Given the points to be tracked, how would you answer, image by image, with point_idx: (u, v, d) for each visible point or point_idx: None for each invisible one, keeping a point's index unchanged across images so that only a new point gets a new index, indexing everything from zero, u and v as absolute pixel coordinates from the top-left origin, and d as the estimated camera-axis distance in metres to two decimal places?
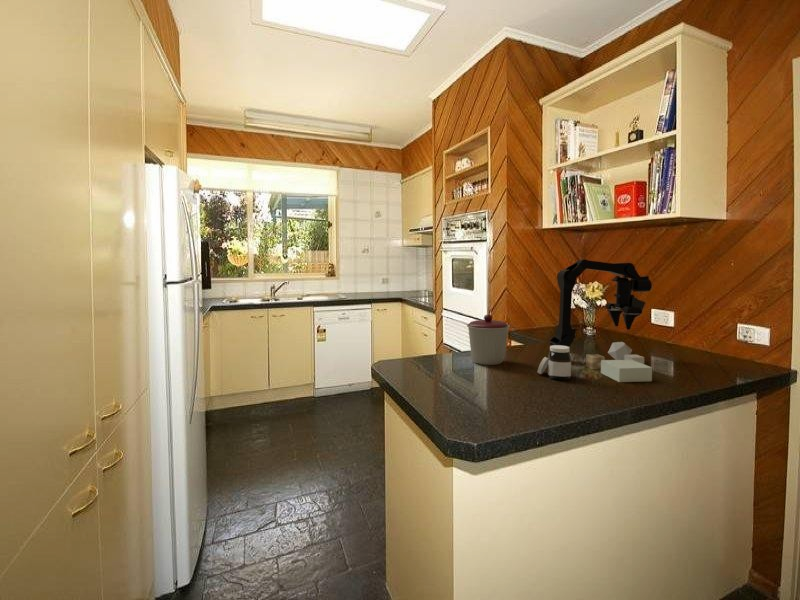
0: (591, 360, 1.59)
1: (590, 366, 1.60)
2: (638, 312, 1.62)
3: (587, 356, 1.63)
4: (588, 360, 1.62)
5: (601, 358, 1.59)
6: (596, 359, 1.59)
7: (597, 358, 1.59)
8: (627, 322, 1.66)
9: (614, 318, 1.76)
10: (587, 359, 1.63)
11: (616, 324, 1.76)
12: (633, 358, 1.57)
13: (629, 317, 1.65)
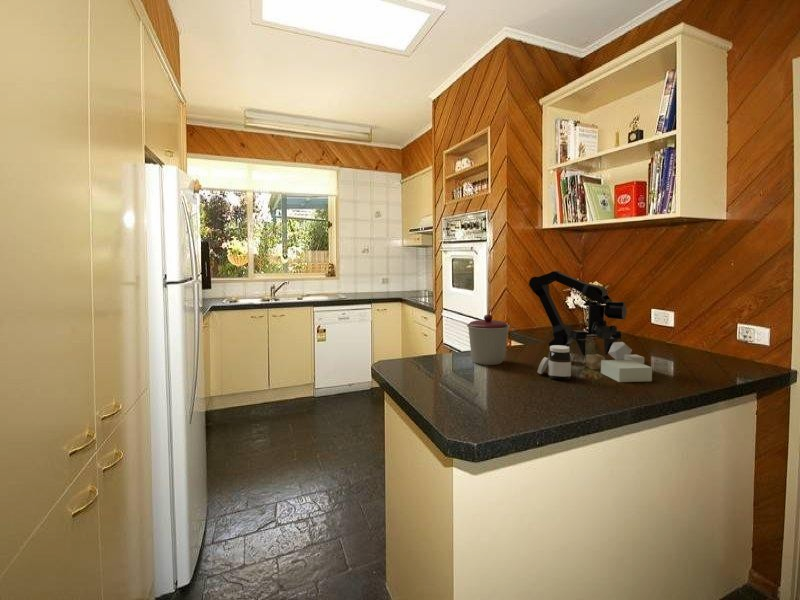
0: (591, 360, 1.59)
1: (590, 366, 1.60)
2: (574, 337, 1.59)
3: (587, 356, 1.63)
4: (588, 360, 1.62)
5: (601, 358, 1.59)
6: (596, 359, 1.59)
7: (597, 358, 1.59)
8: (580, 347, 1.62)
9: (605, 346, 1.62)
10: (587, 359, 1.63)
11: (605, 352, 1.62)
12: (633, 358, 1.57)
13: (581, 342, 1.61)
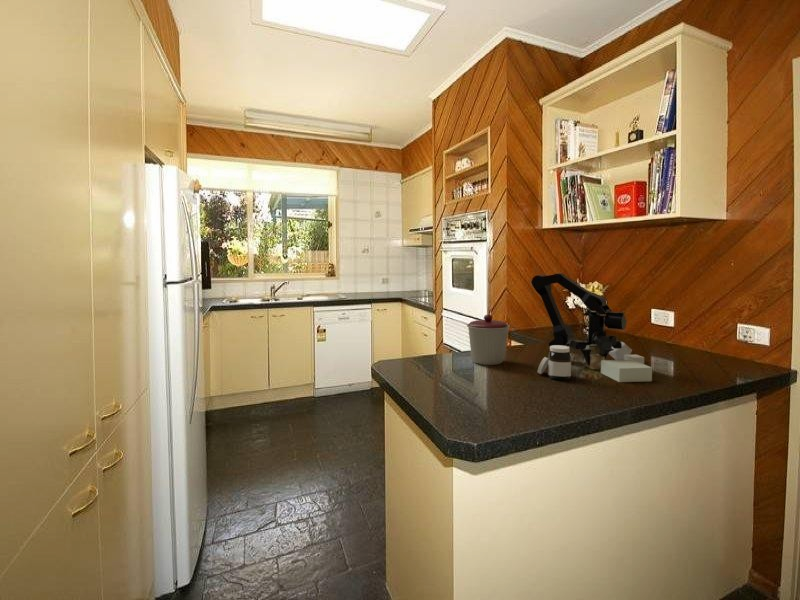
0: (591, 360, 1.59)
1: (590, 366, 1.60)
2: (574, 347, 1.59)
3: None
4: None
5: (601, 358, 1.59)
6: (596, 359, 1.59)
7: (597, 358, 1.59)
8: (584, 356, 1.62)
9: None
10: None
11: None
12: (633, 358, 1.57)
13: (585, 352, 1.61)
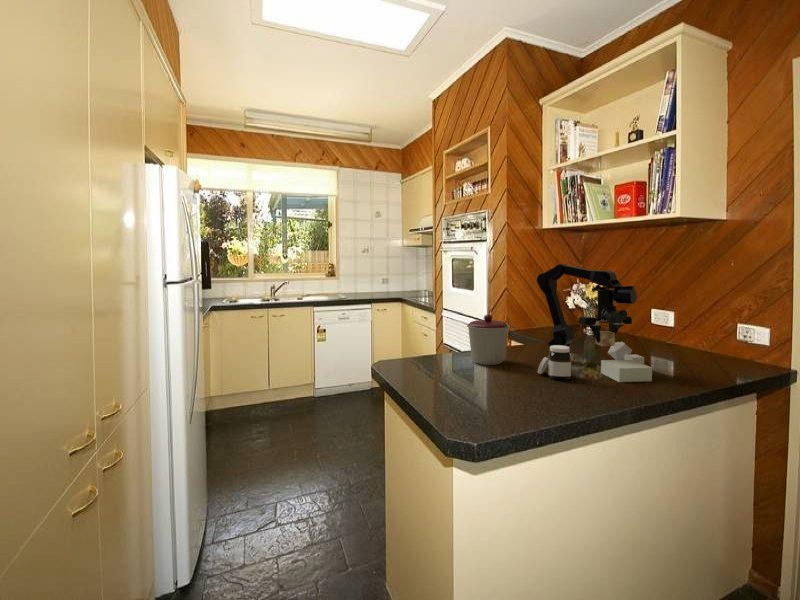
0: (601, 337, 1.54)
1: (600, 343, 1.55)
2: (583, 323, 1.54)
3: None
4: None
5: (611, 334, 1.54)
6: (606, 335, 1.54)
7: (607, 334, 1.54)
8: (594, 333, 1.57)
9: None
10: None
11: None
12: (633, 358, 1.57)
13: (595, 328, 1.56)
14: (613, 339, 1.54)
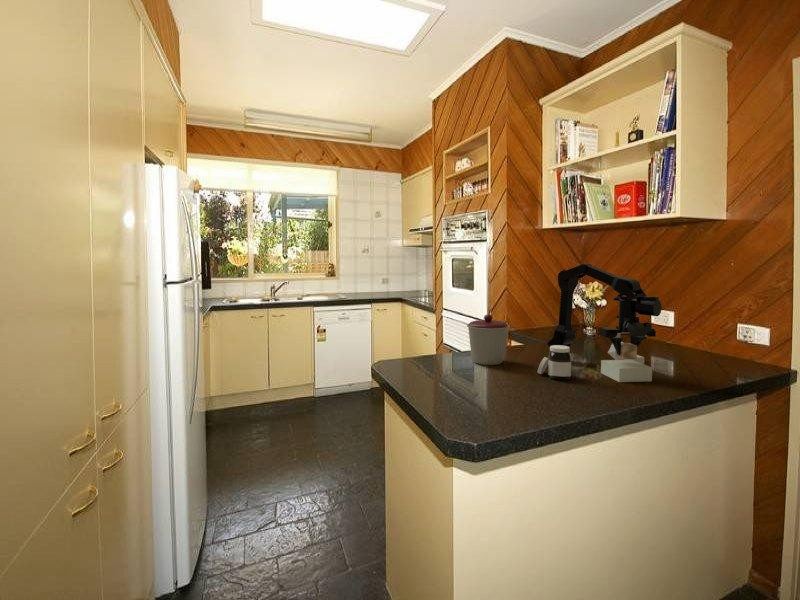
0: (622, 349, 1.45)
1: (621, 356, 1.46)
2: (603, 335, 1.45)
3: None
4: None
5: (633, 347, 1.45)
6: (628, 348, 1.45)
7: (629, 347, 1.44)
8: (614, 346, 1.48)
9: None
10: None
11: None
12: None
13: (615, 340, 1.47)
14: (635, 352, 1.45)
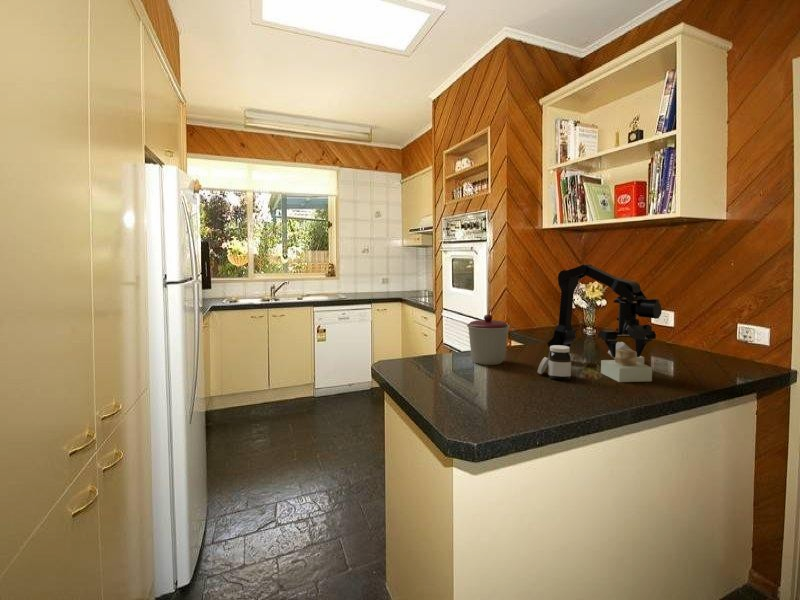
0: (622, 356, 1.45)
1: (621, 362, 1.46)
2: (603, 337, 1.45)
3: (617, 351, 1.48)
4: (618, 356, 1.48)
5: (633, 353, 1.45)
6: (627, 354, 1.45)
7: (629, 353, 1.45)
8: (609, 348, 1.48)
9: (636, 347, 1.48)
10: (617, 354, 1.49)
11: (637, 354, 1.48)
12: None
13: (610, 343, 1.47)
14: (635, 358, 1.45)
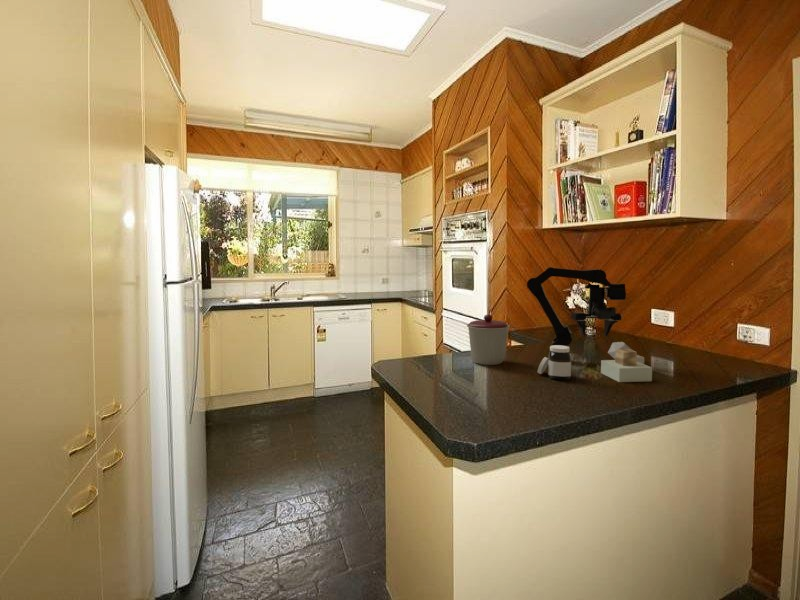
0: (622, 356, 1.45)
1: (621, 362, 1.46)
2: (574, 318, 1.64)
3: (617, 351, 1.48)
4: (618, 356, 1.48)
5: (633, 353, 1.45)
6: (627, 354, 1.45)
7: (629, 353, 1.45)
8: (580, 328, 1.67)
9: (605, 327, 1.67)
10: (617, 354, 1.49)
11: (605, 334, 1.66)
12: None
13: (581, 323, 1.66)
14: (635, 358, 1.45)
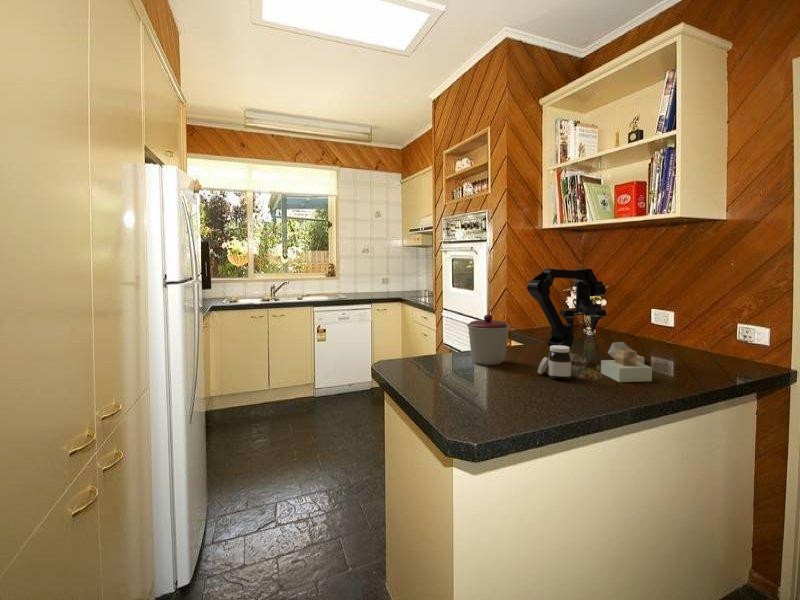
0: (622, 356, 1.45)
1: (621, 362, 1.46)
2: (563, 315, 1.73)
3: (617, 351, 1.48)
4: (618, 356, 1.48)
5: (633, 353, 1.45)
6: (627, 354, 1.45)
7: (629, 353, 1.45)
8: (568, 324, 1.76)
9: (591, 323, 1.77)
10: (617, 354, 1.49)
11: (591, 329, 1.76)
12: None
13: (569, 320, 1.75)
14: (635, 358, 1.45)
